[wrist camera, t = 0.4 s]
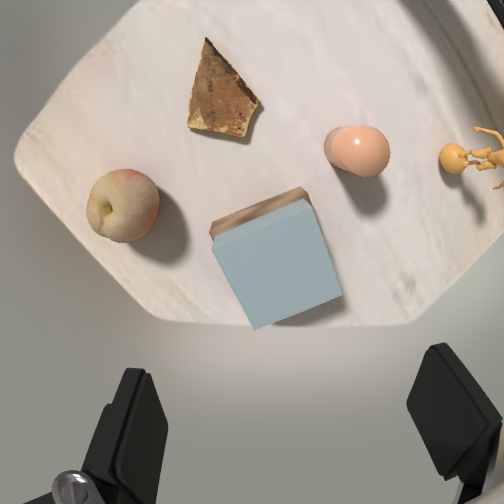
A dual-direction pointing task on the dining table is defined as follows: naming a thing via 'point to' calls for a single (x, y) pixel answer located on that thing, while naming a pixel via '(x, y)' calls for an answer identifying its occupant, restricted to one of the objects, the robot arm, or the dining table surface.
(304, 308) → the top block
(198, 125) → the shard
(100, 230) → the fruit
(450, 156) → the figurine
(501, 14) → the cell phone
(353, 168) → the terracotta cylinder
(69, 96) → the dining table surface
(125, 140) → the dining table surface
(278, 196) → the bottom block
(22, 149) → the dining table surface
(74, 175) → the dining table surface
